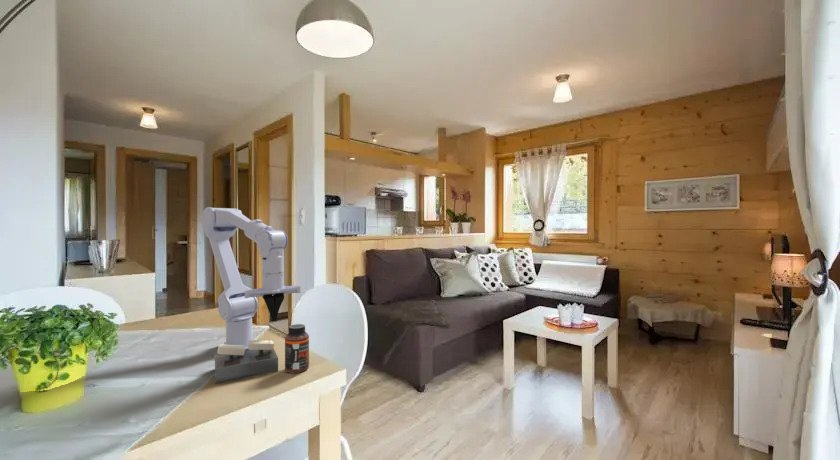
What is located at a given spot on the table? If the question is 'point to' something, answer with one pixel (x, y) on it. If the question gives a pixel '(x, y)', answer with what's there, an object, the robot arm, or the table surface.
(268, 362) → the rocker switch box
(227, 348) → the block
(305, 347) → the supplement bottle
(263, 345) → the rocker
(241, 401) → the table surface
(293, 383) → the table surface
